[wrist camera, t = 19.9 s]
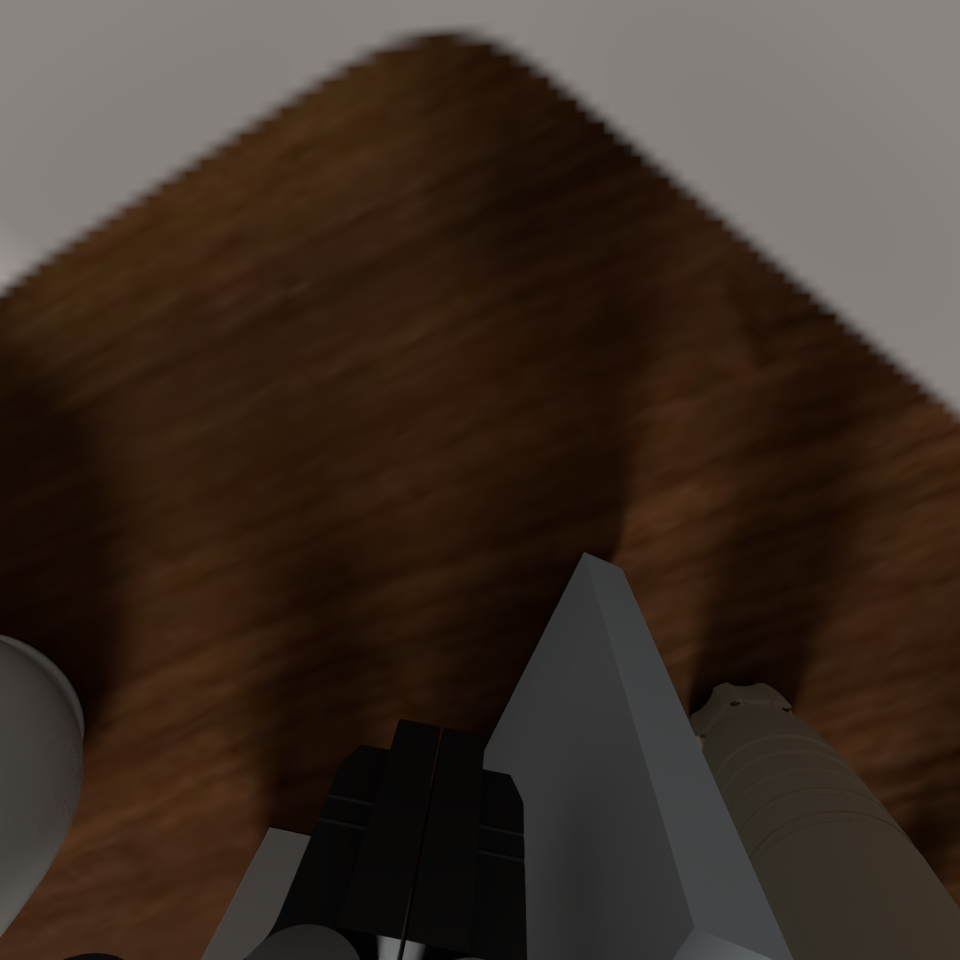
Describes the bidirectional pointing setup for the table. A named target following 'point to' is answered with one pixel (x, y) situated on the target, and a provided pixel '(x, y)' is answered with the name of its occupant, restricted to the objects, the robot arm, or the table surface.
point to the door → (621, 798)
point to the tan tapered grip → (820, 837)
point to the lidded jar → (34, 769)
